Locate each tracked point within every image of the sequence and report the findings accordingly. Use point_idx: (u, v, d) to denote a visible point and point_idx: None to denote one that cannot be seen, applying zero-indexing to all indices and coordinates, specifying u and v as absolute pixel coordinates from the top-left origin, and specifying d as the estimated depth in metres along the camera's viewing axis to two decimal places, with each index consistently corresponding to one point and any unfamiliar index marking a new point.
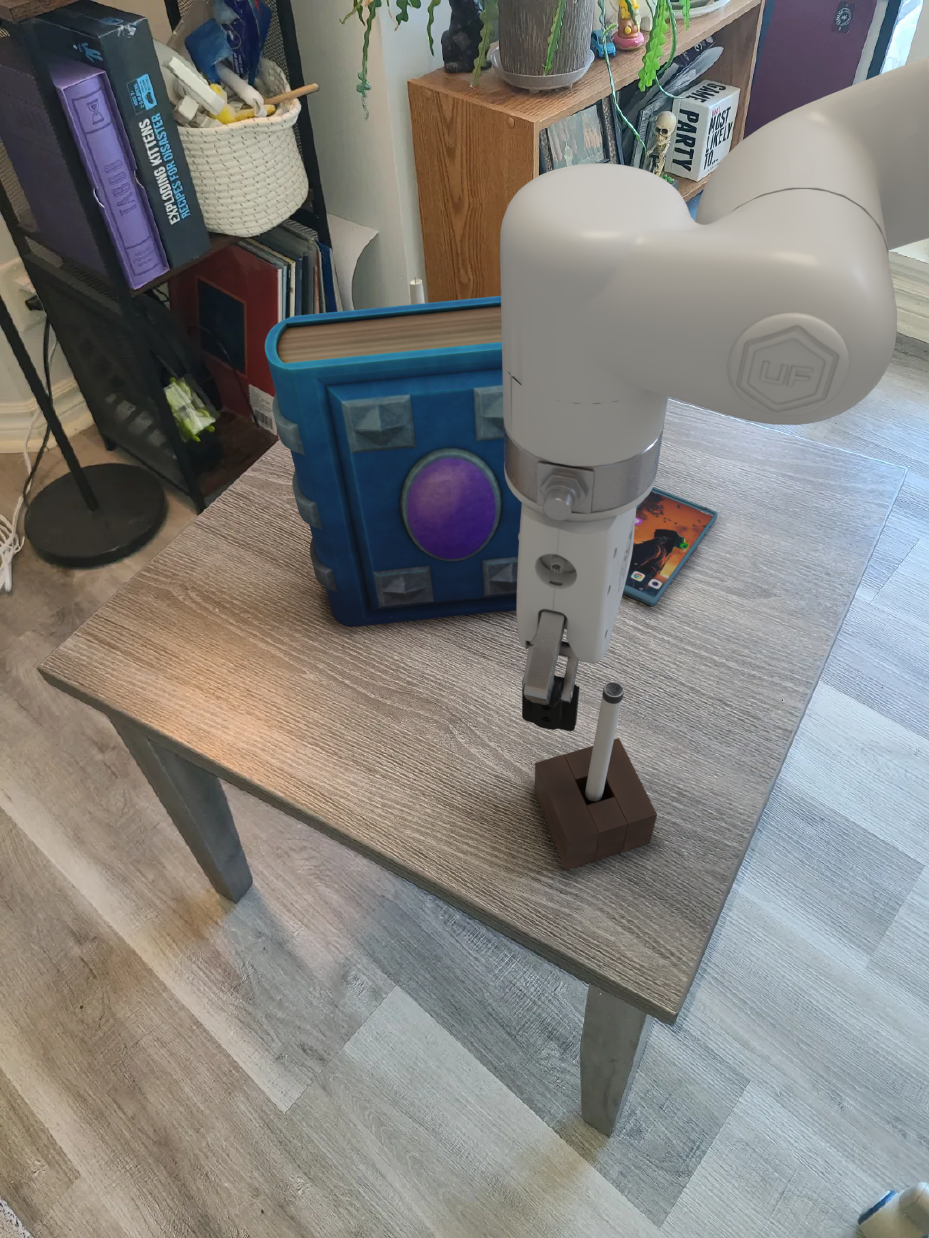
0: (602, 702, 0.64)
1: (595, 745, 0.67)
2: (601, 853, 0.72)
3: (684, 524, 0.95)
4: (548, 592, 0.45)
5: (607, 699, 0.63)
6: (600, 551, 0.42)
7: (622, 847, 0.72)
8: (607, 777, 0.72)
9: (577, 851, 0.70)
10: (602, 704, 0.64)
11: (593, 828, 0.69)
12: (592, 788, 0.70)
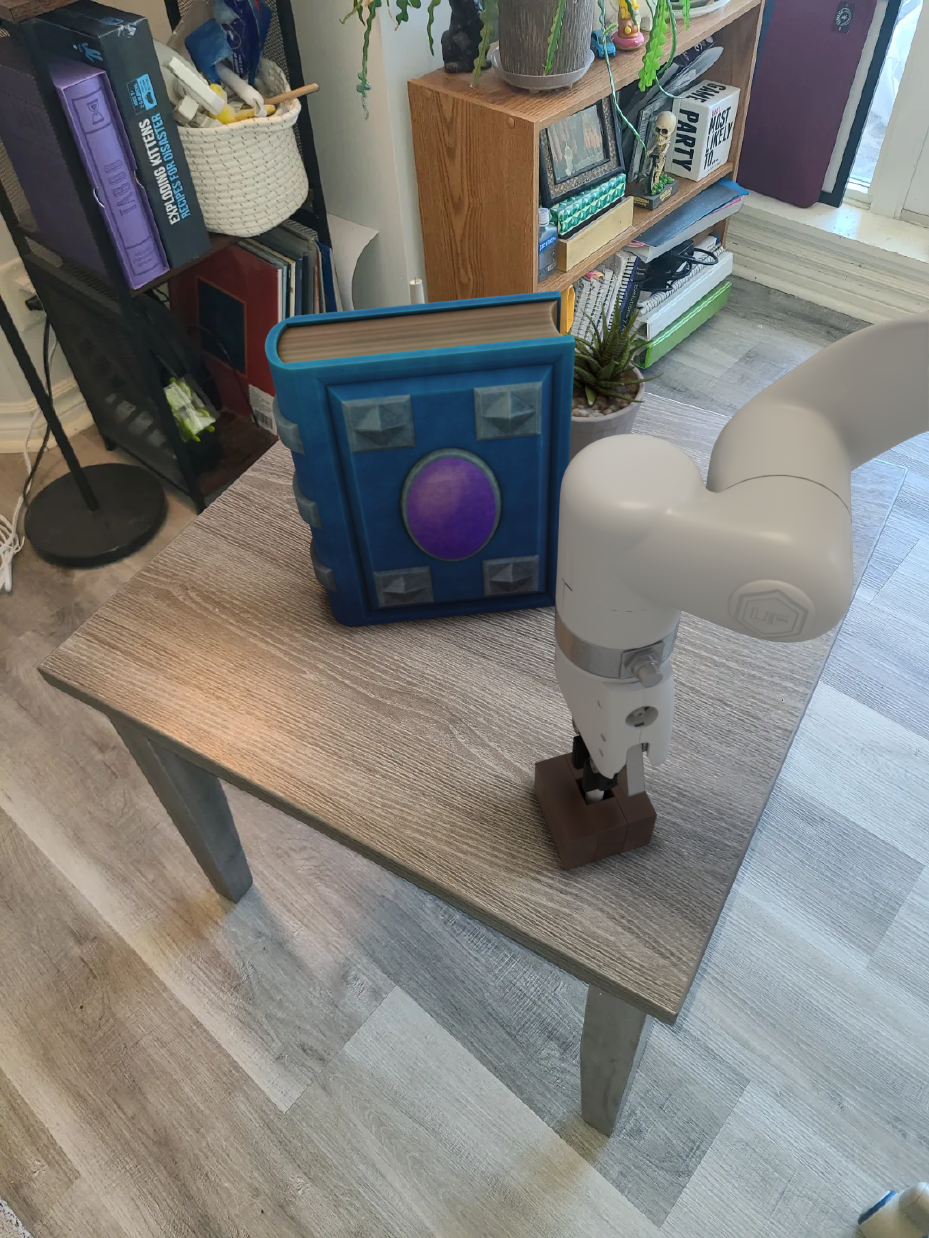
0: None
1: None
2: (601, 853, 0.72)
3: None
4: (636, 733, 0.56)
5: None
6: (671, 689, 0.55)
7: (622, 847, 0.72)
8: None
9: (577, 851, 0.70)
10: None
11: (593, 828, 0.69)
12: None
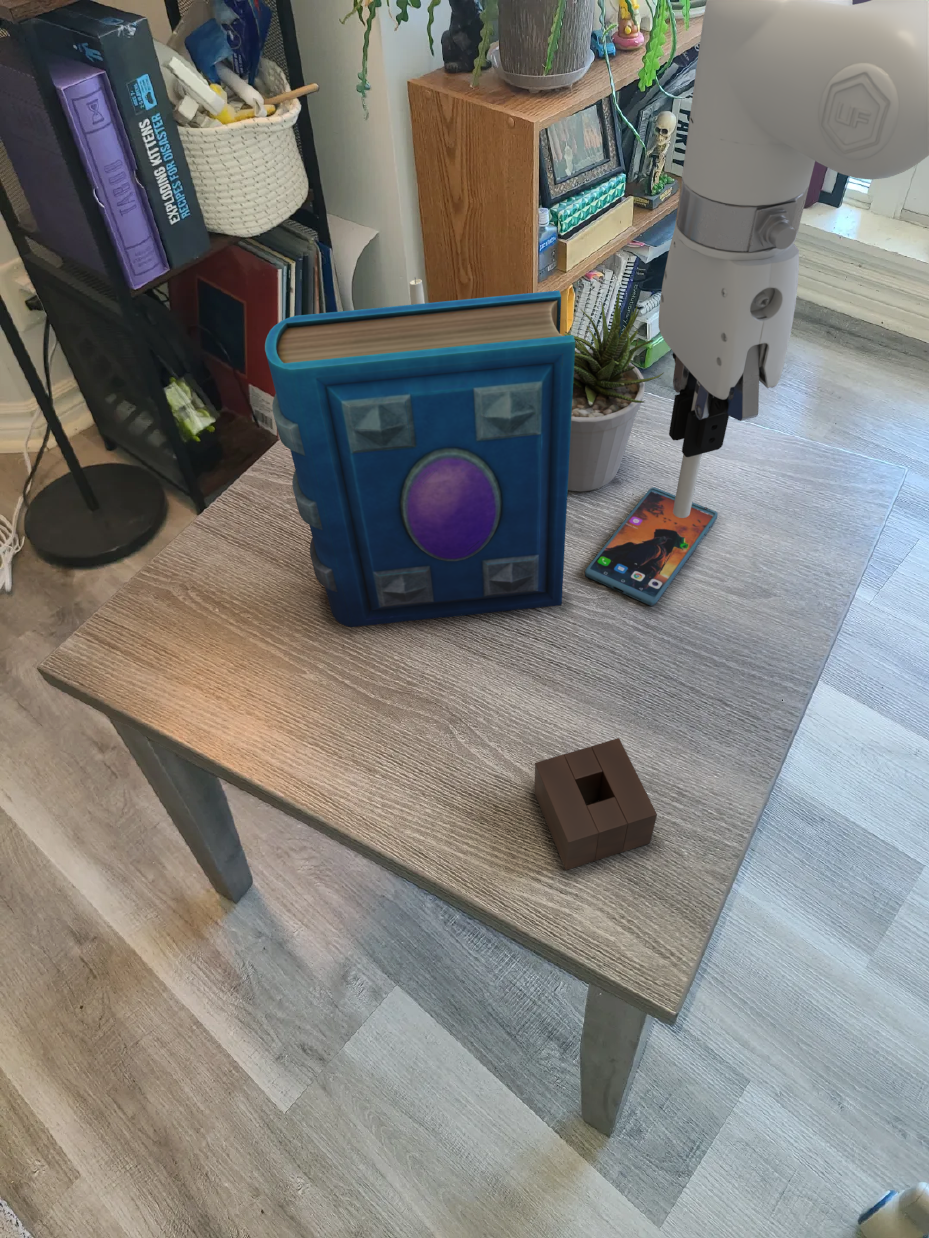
0: (695, 398, 0.66)
1: None
2: (601, 853, 0.72)
3: (684, 524, 0.95)
4: (758, 327, 0.56)
5: None
6: (796, 272, 0.55)
7: (622, 847, 0.72)
8: (607, 777, 0.72)
9: (577, 851, 0.70)
10: (695, 400, 0.66)
11: (593, 828, 0.69)
12: (681, 502, 0.74)
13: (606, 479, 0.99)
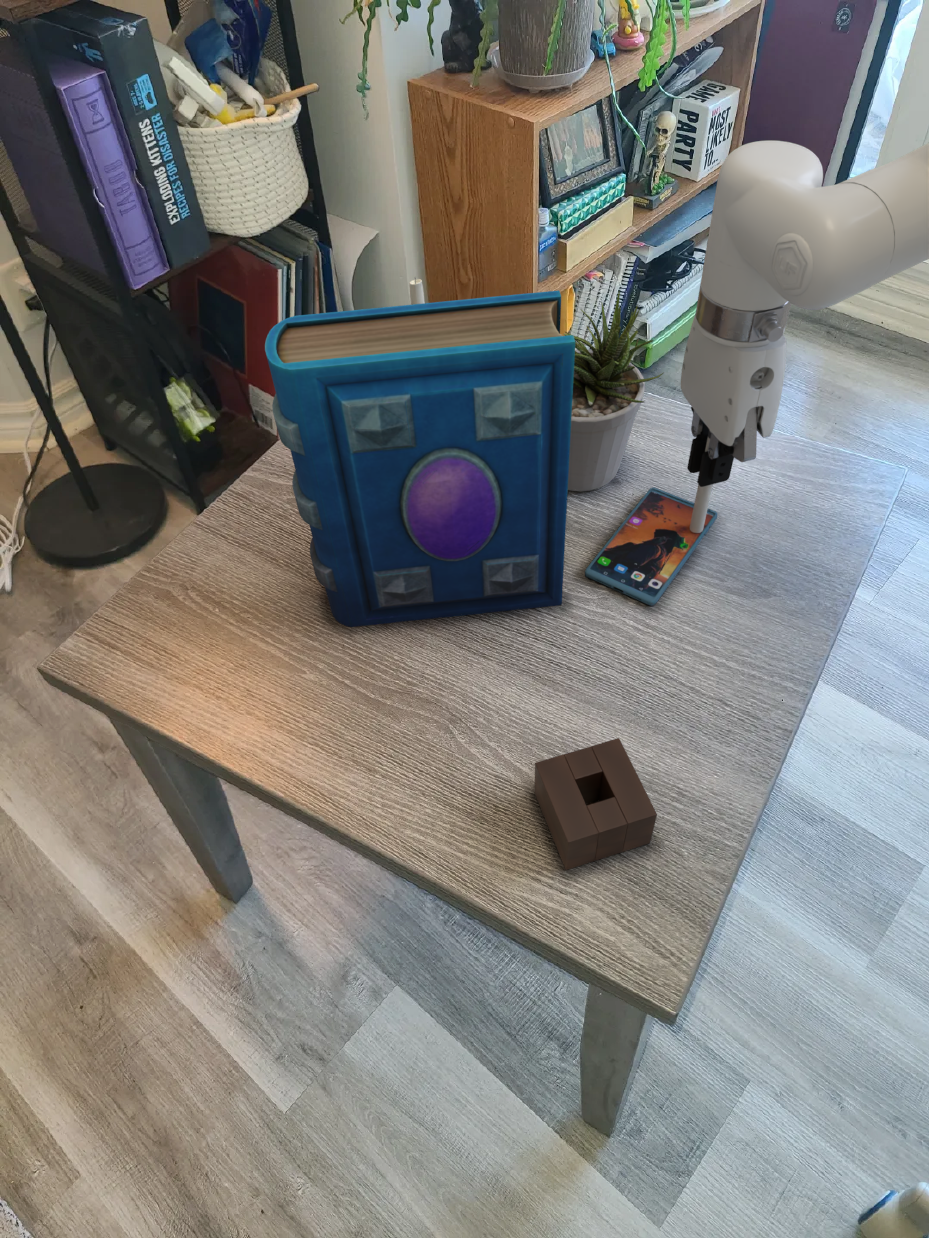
0: (708, 442, 0.85)
1: None
2: (601, 853, 0.72)
3: (684, 524, 0.95)
4: (756, 395, 0.76)
5: None
6: (784, 355, 0.74)
7: (622, 847, 0.72)
8: (607, 777, 0.72)
9: (577, 851, 0.70)
10: (707, 443, 0.85)
11: (593, 828, 0.69)
12: (696, 521, 0.93)
13: (606, 479, 0.99)
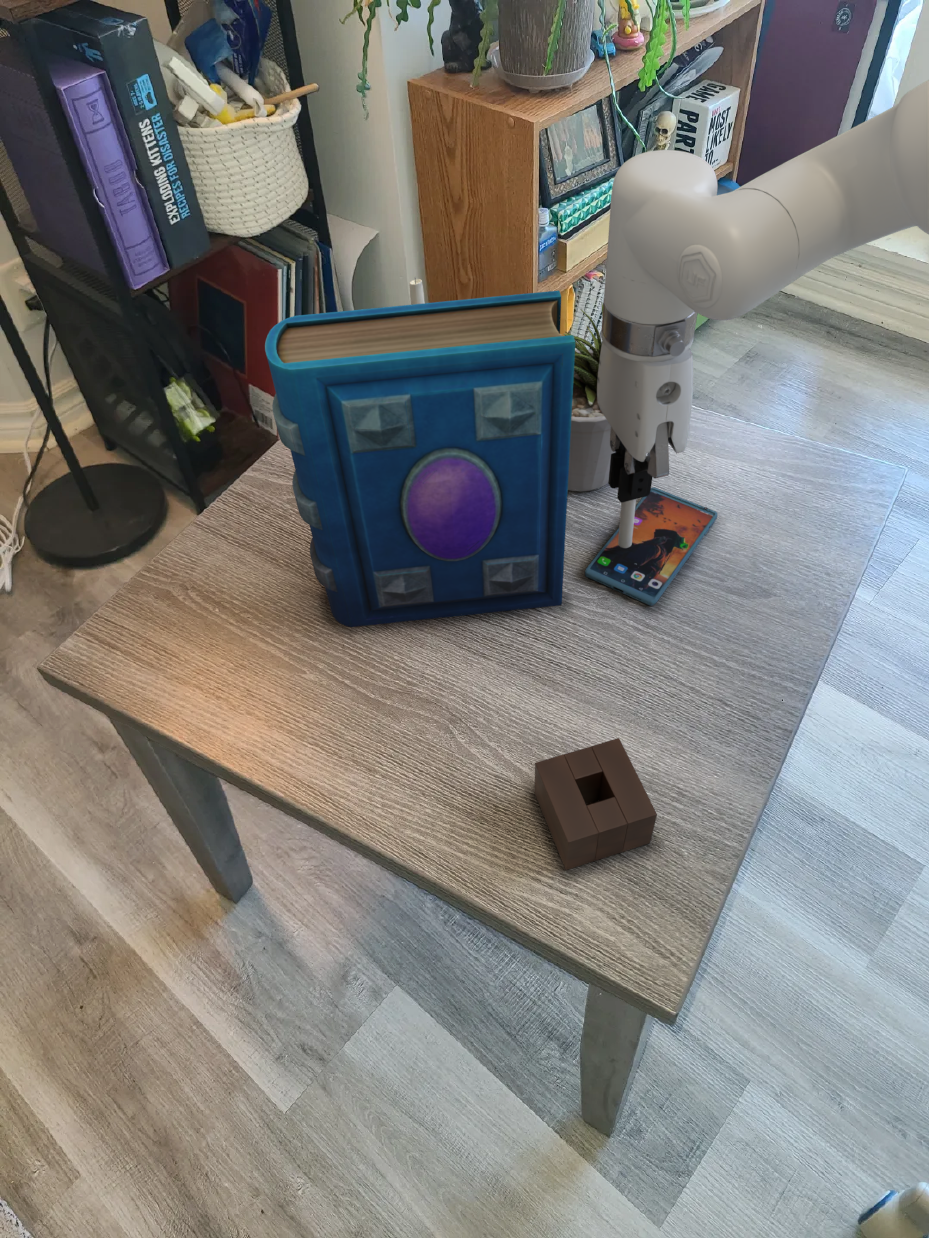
0: (625, 456, 0.83)
1: None
2: (601, 853, 0.72)
3: (684, 524, 0.95)
4: (663, 410, 0.74)
5: None
6: (691, 370, 0.72)
7: (622, 847, 0.72)
8: (607, 777, 0.72)
9: (577, 851, 0.70)
10: None
11: (593, 828, 0.69)
12: (623, 536, 0.91)
13: (606, 479, 0.99)
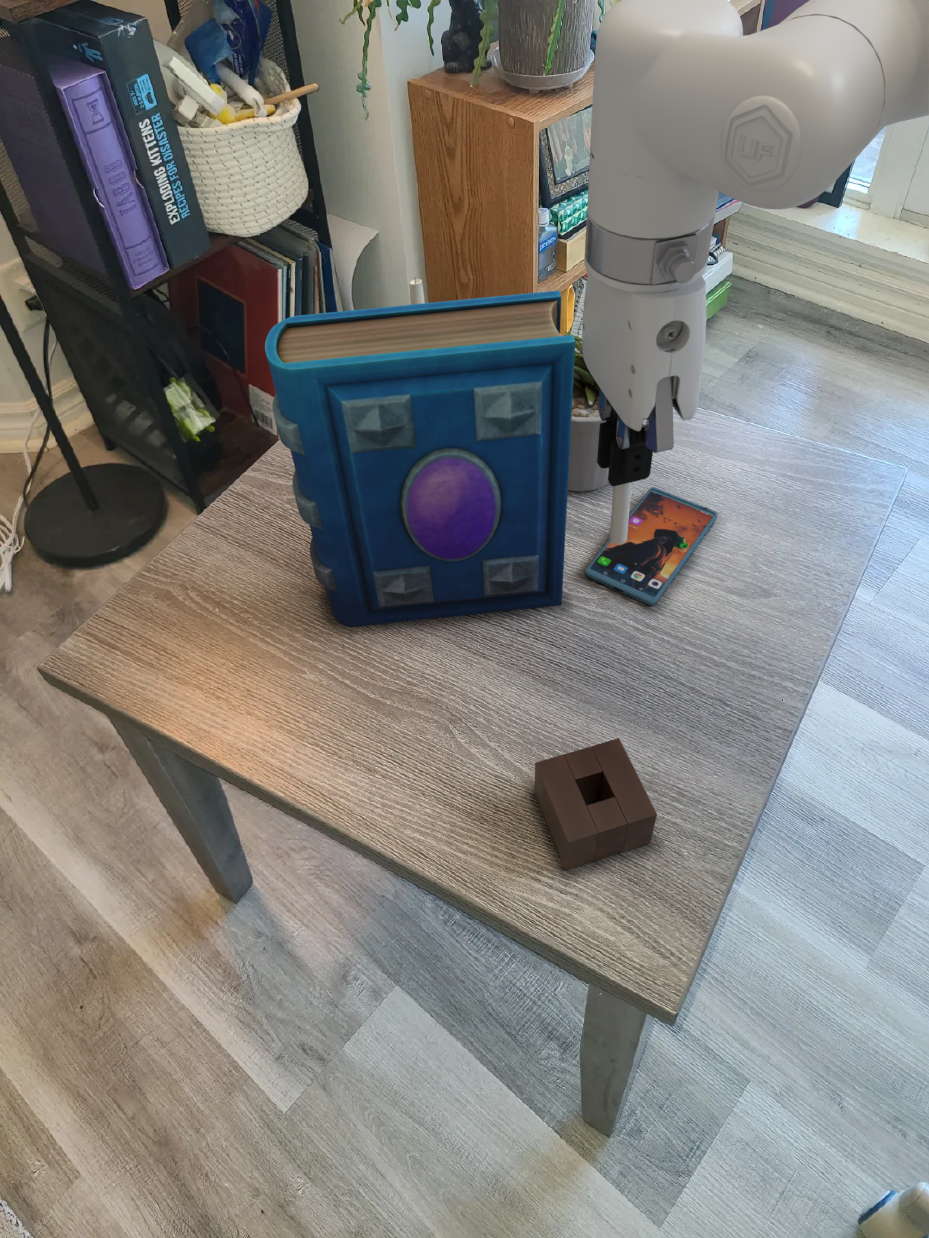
0: (617, 427, 0.65)
1: None
2: (601, 853, 0.72)
3: (684, 524, 0.95)
4: (666, 360, 0.55)
5: None
6: (703, 305, 0.54)
7: (622, 847, 0.72)
8: (607, 777, 0.72)
9: (577, 851, 0.70)
10: None
11: (593, 828, 0.69)
12: (615, 529, 0.73)
13: (606, 479, 0.99)
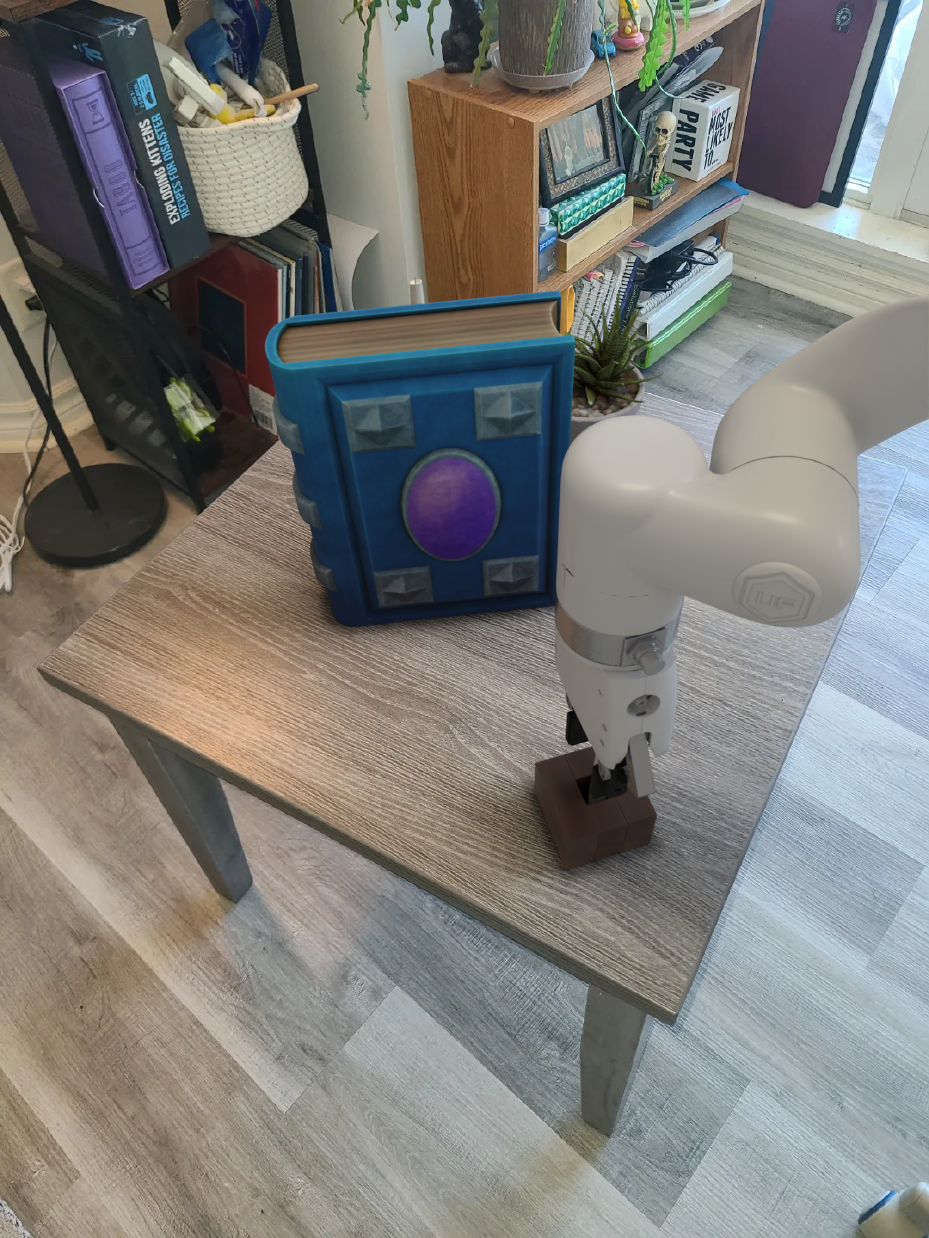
0: None
1: None
2: (601, 853, 0.72)
3: None
4: (638, 723, 0.55)
5: None
6: (673, 677, 0.54)
7: (622, 847, 0.72)
8: None
9: (577, 851, 0.70)
10: None
11: (593, 828, 0.69)
12: None
13: None
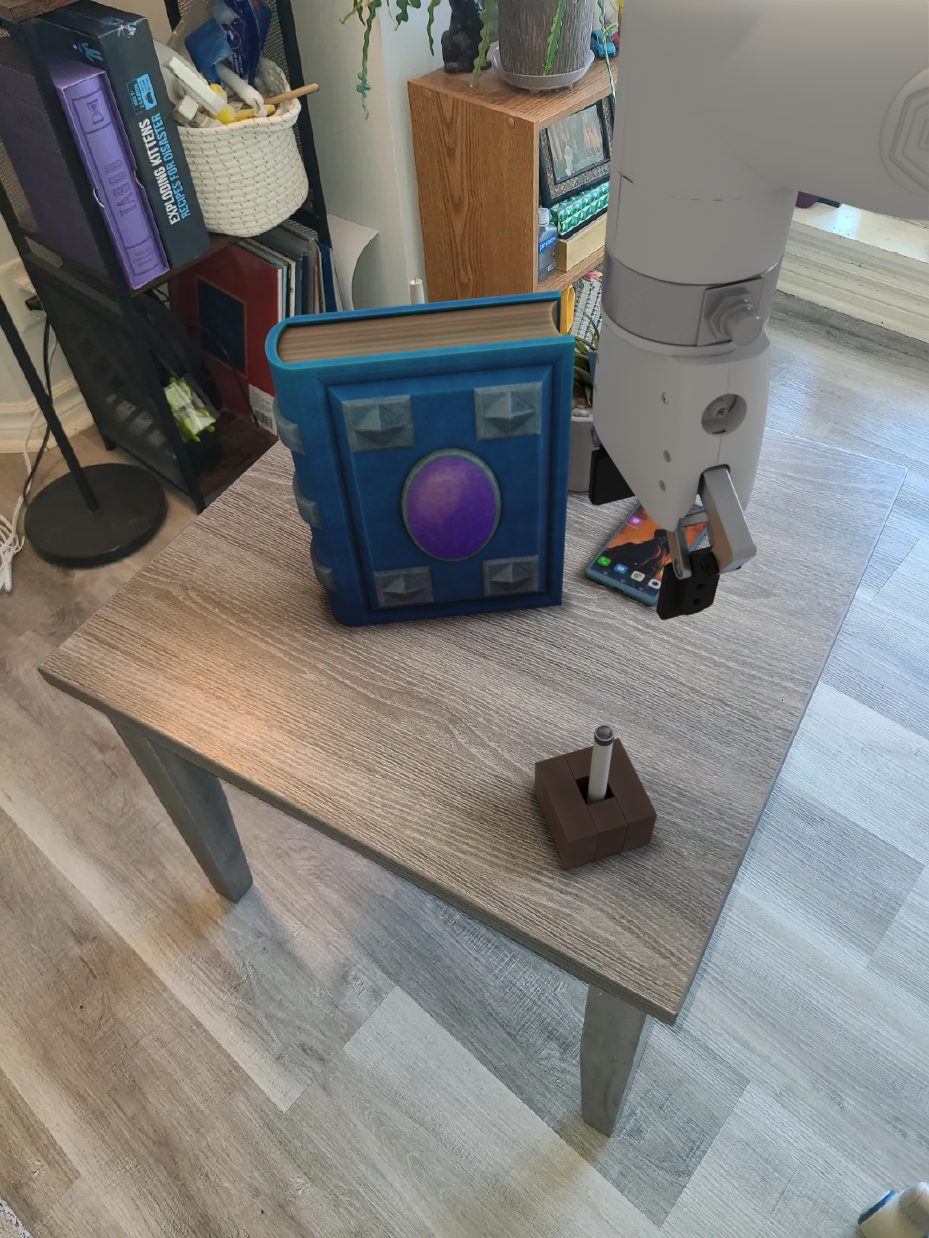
0: (594, 743, 0.66)
1: (591, 778, 0.70)
2: (601, 853, 0.72)
3: None
4: (714, 445, 0.40)
5: (598, 742, 0.65)
6: (766, 372, 0.39)
7: (622, 847, 0.72)
8: None
9: (577, 851, 0.70)
10: (594, 745, 0.66)
11: (593, 828, 0.69)
12: None
13: None
